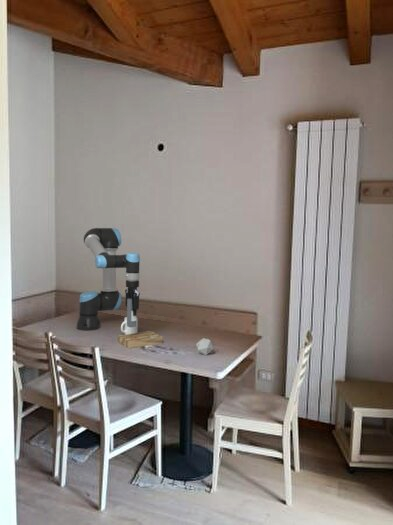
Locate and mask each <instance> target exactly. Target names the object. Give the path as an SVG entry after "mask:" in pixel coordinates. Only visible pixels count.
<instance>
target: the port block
mask: <svg viewBox="0 0 393 525" xmlns="http://www.w3.org/2000/svg"><path fill="white" fill-rule="evenodd" d="M163 338H164V337H163V336H162V335H160V334H158V333H156V332H154V331H151V330H148V331H141V332H137V333H133V334H126V335H125V334H120V335H118V336H117V343H118V342H119V344H120V345H122V346H123V347H125V348H127V349H135V348H140V347H141V346H142V347H146V346H147V345H148V346H153V345H158V344H160V345H161V344H163V343H164V342H163V341H164V340H163ZM148 346H147V347H148Z"/></svg>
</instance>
